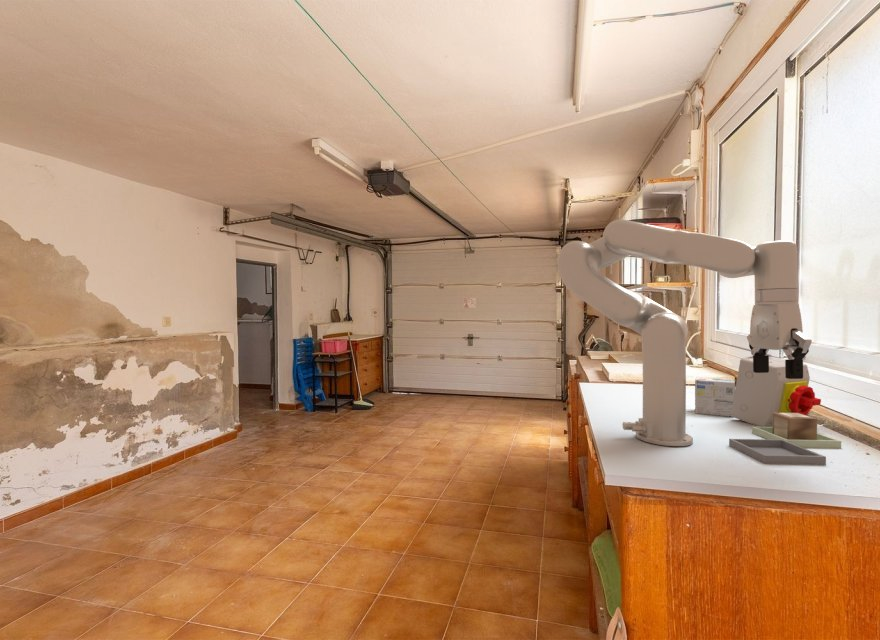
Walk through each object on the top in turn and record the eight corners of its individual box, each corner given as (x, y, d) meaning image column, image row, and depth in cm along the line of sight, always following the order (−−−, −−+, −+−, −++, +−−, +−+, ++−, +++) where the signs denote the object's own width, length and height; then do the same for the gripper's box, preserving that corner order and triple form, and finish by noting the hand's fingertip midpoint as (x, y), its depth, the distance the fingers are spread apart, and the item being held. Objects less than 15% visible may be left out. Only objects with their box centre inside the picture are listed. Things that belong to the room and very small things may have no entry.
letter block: (789, 443, 102) (789, 417, 102) (771, 436, 108) (771, 412, 108) (816, 443, 101) (817, 418, 101) (797, 436, 107) (797, 412, 107)
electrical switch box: (786, 442, 111) (800, 367, 108) (729, 420, 125) (740, 354, 122) (820, 436, 117) (834, 365, 114) (762, 416, 130) (773, 352, 127)
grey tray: (764, 465, 88) (764, 455, 88) (729, 447, 100) (729, 438, 100) (825, 466, 88) (826, 456, 88) (782, 448, 100) (782, 439, 99)
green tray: (786, 448, 99) (786, 440, 99) (752, 434, 111) (752, 426, 111) (841, 449, 98) (841, 441, 98) (800, 435, 110) (800, 427, 110)
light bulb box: (734, 413, 135) (735, 379, 134) (735, 417, 129) (736, 382, 129) (695, 409, 140) (695, 376, 140) (694, 413, 135) (694, 379, 135)
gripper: (733, 299, 103) (733, 370, 103) (788, 296, 86) (789, 381, 86) (765, 299, 103) (765, 370, 103) (827, 295, 85) (828, 381, 85)
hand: (776, 375), depth 94 cm, fingers open, 9 cm apart
